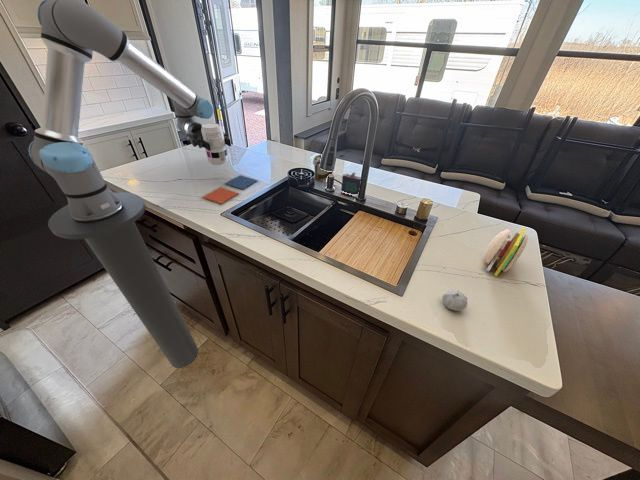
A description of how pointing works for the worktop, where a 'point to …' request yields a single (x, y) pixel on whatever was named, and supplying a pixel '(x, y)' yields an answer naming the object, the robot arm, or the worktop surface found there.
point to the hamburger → (505, 250)
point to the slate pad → (241, 182)
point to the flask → (350, 184)
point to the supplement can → (215, 143)
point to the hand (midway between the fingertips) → (219, 145)
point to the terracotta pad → (220, 195)
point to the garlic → (455, 300)
